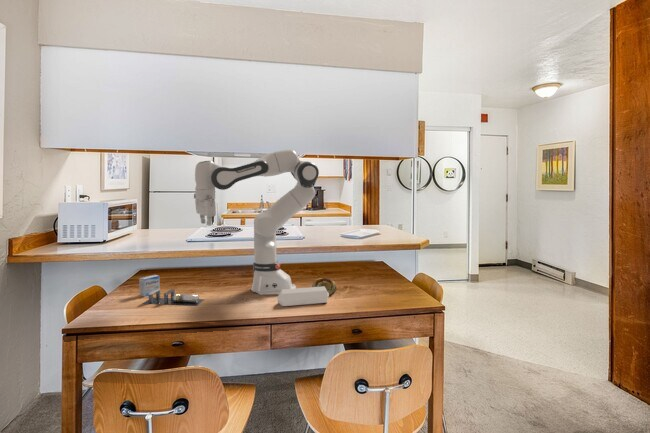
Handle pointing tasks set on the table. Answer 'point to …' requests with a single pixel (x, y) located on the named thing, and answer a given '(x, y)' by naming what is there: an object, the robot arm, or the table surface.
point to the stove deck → (167, 299)
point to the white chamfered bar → (303, 296)
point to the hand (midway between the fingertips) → (206, 224)
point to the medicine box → (149, 284)
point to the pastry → (325, 284)
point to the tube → (185, 298)
